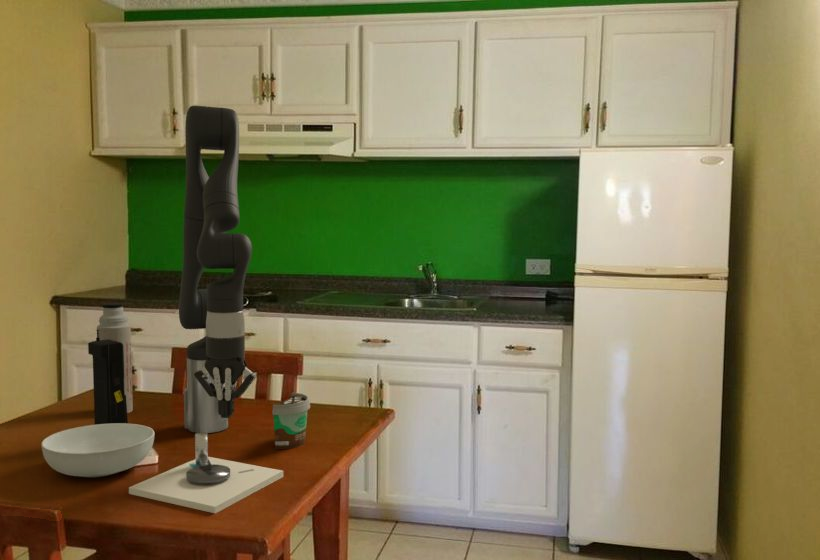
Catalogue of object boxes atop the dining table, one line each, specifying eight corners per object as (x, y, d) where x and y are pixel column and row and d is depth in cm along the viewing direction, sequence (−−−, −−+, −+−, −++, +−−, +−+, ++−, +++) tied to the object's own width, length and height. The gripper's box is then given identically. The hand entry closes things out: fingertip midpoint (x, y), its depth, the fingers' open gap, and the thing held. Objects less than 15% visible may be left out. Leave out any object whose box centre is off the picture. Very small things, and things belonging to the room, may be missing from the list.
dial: (234, 480, 140) (233, 449, 139) (189, 486, 136) (189, 454, 136) (221, 459, 152) (220, 430, 151) (180, 464, 148) (179, 434, 148)
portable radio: (133, 442, 167) (130, 331, 165) (106, 448, 163) (103, 334, 160) (116, 435, 172) (113, 327, 170) (90, 441, 168) (87, 330, 166)
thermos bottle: (137, 407, 197) (134, 301, 194) (125, 415, 189) (122, 305, 186) (107, 407, 197) (104, 301, 194) (94, 415, 189) (90, 305, 186)
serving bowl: (175, 457, 158) (174, 425, 157) (114, 493, 137) (113, 457, 137) (88, 449, 162) (87, 418, 162) (17, 483, 142) (15, 448, 141)
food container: (299, 452, 161) (299, 407, 160) (272, 450, 162) (272, 405, 162) (317, 435, 173) (317, 393, 172) (292, 434, 174) (292, 391, 174)
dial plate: (128, 493, 137) (128, 486, 137) (203, 461, 155) (203, 455, 155) (215, 513, 129) (215, 506, 128) (283, 476, 146) (283, 470, 146)
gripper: (263, 331, 153) (263, 413, 155) (201, 328, 155) (202, 410, 157) (250, 337, 145) (251, 424, 147) (186, 334, 147) (187, 420, 149)
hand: (226, 417), depth 152 cm, fingers closed
